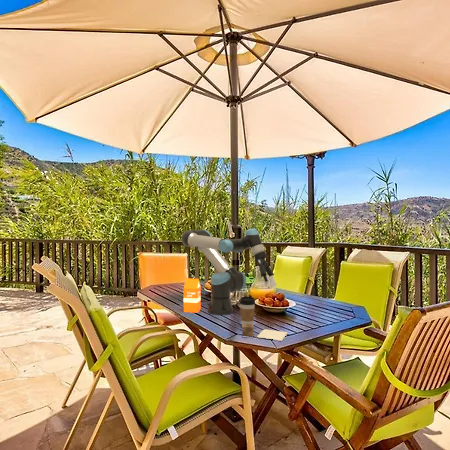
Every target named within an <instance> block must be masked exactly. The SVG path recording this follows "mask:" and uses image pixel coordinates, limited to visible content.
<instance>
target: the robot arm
mask: <svg viewBox="0 0 450 450" xmlns="http://www.w3.org/2000/svg"><path fill="white" fill-rule="evenodd" d="M180 240H181V243H182V244H183V246H185V247H187V248H195V249H197V251H199V252H202V254H204V256H205V257H206V258H207V260H208V261H209V262H210V263H211V264H212V265H213V267H214V268H215V269H216V271H217V272H216V273H213V274H212V275H211V278H210V301H209V303H208V307H207V312H208V313H209V314H210V315H221V316H222V315H223V316H224V315H229V314H232V313H233V311H234V308H233V304H232V301H231V293H233V292H238V291H239V292H240V291H241V290H244V288H245V287H246V284H247V277H246V274H245V273H244V272H242V271H238V270H237V268H236V267H235V266H231V265H230V264H229V262H228V261H227V260H226V259H225V258H224V256H222V254H221V253H233V252H235V253H237V254H240V253H242V252H244V251H245V250H247V249H249V248H250V250H251V253H252V255H253V258H254V260H255V261H256V262H257V264H258V269H259V272H260V277H261V278H263V281H264V285H265V286H266V289H268V288H270V287H272V288H274V287H277V281H276V279H275V277H274V275H275V273H274V272H273V270H272V269H271V267H270V264H269V262H268V260H267V259H266V258H268V254H267V252H266V251H265V248H264V247H265V245H264V244H263V242H262V239H261V236H260V234H259V232H258V230H257V228H256V227H255V228H250V229H247V230H246V231H245V235H244V236H243V237H241V238H233V239H229V238H228V239H227V238H222V237H215V236H212V234H211V233H210V232H209V231H208V230H205V229H189V230H185V231H184V232H183V233H182V235H181V239H180ZM219 251H220V252H221V253H220V252H219Z"/></svg>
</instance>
